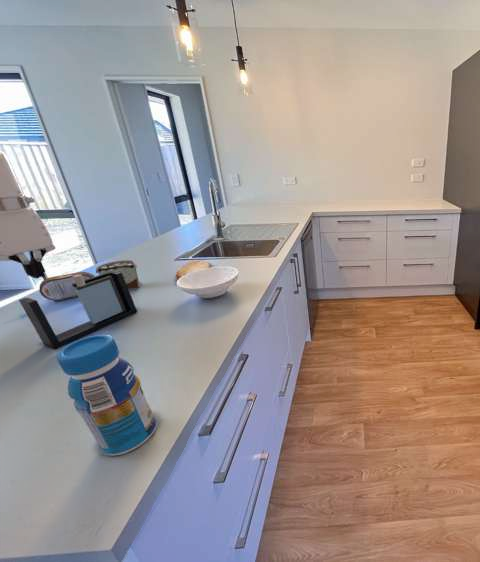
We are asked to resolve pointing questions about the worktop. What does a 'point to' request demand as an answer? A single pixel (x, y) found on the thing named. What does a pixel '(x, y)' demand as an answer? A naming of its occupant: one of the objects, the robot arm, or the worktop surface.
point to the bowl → (208, 281)
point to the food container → (122, 266)
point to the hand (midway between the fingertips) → (37, 276)
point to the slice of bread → (191, 268)
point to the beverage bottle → (107, 394)
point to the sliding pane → (99, 298)
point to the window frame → (82, 330)
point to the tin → (61, 286)
